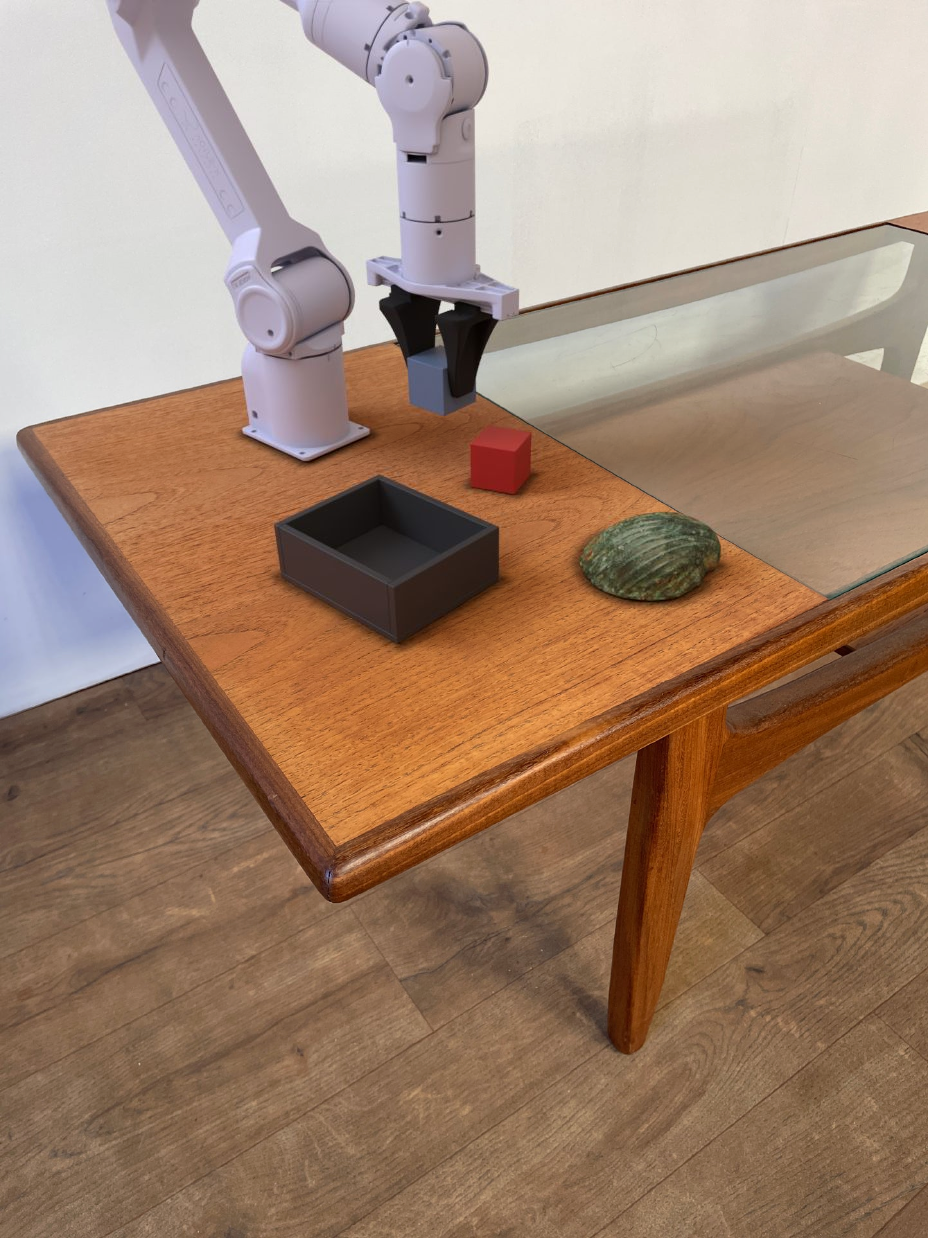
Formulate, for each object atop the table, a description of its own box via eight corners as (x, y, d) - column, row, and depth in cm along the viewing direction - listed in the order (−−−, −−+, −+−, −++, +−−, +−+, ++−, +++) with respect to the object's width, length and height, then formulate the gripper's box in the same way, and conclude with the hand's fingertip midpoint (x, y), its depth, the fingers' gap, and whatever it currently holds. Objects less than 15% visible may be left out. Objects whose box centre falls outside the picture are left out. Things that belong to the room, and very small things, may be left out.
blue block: (409, 404, 81) (406, 357, 78) (441, 389, 83) (440, 344, 81) (444, 416, 78) (442, 369, 76) (476, 401, 81) (476, 355, 79)
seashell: (590, 478, 73) (726, 490, 71) (587, 523, 76) (717, 535, 74) (576, 555, 65) (726, 571, 64) (572, 602, 68) (717, 618, 66)
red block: (470, 486, 81) (469, 443, 79) (487, 466, 84) (487, 424, 82) (514, 495, 80) (515, 451, 78) (530, 474, 83) (532, 431, 81)
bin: (281, 577, 70) (273, 523, 68) (382, 524, 76) (379, 473, 74) (397, 644, 63) (393, 587, 61) (499, 580, 69) (499, 526, 67)
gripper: (546, 218, 70) (540, 394, 78) (406, 191, 78) (413, 353, 86) (483, 237, 66) (484, 421, 74) (341, 207, 74) (355, 376, 82)
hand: (442, 387), depth 80 cm, fingers closed on blue block, 4 cm apart
